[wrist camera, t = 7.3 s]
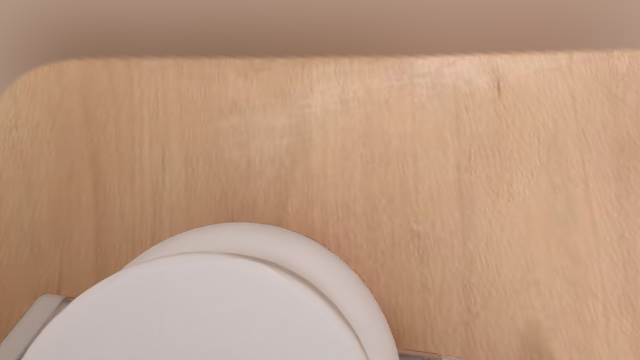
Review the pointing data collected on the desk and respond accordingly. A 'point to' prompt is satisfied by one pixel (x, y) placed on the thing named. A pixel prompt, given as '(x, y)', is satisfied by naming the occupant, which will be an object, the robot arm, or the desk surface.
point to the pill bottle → (224, 304)
